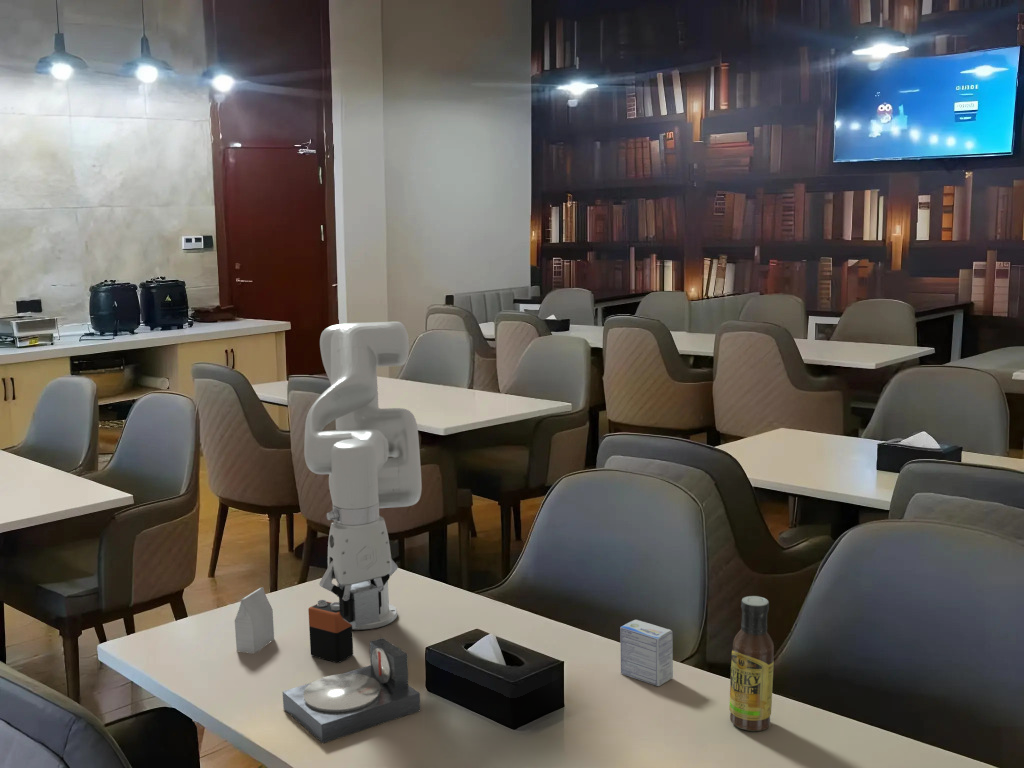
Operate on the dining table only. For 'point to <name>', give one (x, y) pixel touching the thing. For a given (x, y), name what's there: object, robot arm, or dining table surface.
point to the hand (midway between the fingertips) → (361, 614)
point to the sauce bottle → (752, 668)
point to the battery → (329, 632)
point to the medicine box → (646, 652)
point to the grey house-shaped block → (254, 622)
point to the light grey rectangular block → (364, 604)
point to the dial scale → (355, 696)
